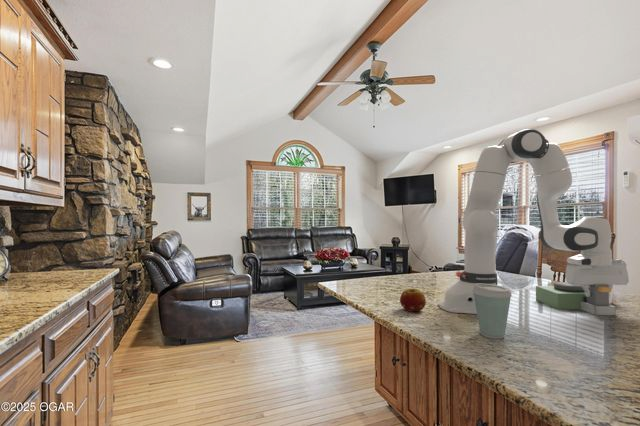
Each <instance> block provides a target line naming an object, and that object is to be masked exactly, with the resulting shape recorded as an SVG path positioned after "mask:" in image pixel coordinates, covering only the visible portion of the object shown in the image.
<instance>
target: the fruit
mask: <svg viewBox="0 0 640 426" xmlns="http://www.w3.org/2000/svg"><path fill="white" fill-rule="evenodd" d="M399 303H400V306H401V307H402V308H403V309H405V310H406V311H408V312H412V313H417V312H420V311H422V310H423V309H424V308H425V306H426V304H427V299H426V296H425V294H424V292H423V291H421V290H420V289H418V288H408V289H405V290H403V291H402V293H400V296H399Z"/></svg>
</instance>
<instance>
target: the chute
mask: <svg viewBox="0 0 640 426" xmlns="http://www.w3.org/2000/svg"><path fill="white" fill-rule="evenodd" d="M588 289H589V291H590V292H593V294H592V295H593V297H587V303H589V304H592V305H595V306H609V305H610V304H609V292H611V288H610V287H609V285H607V284H594V285H590V288H588Z"/></svg>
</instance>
